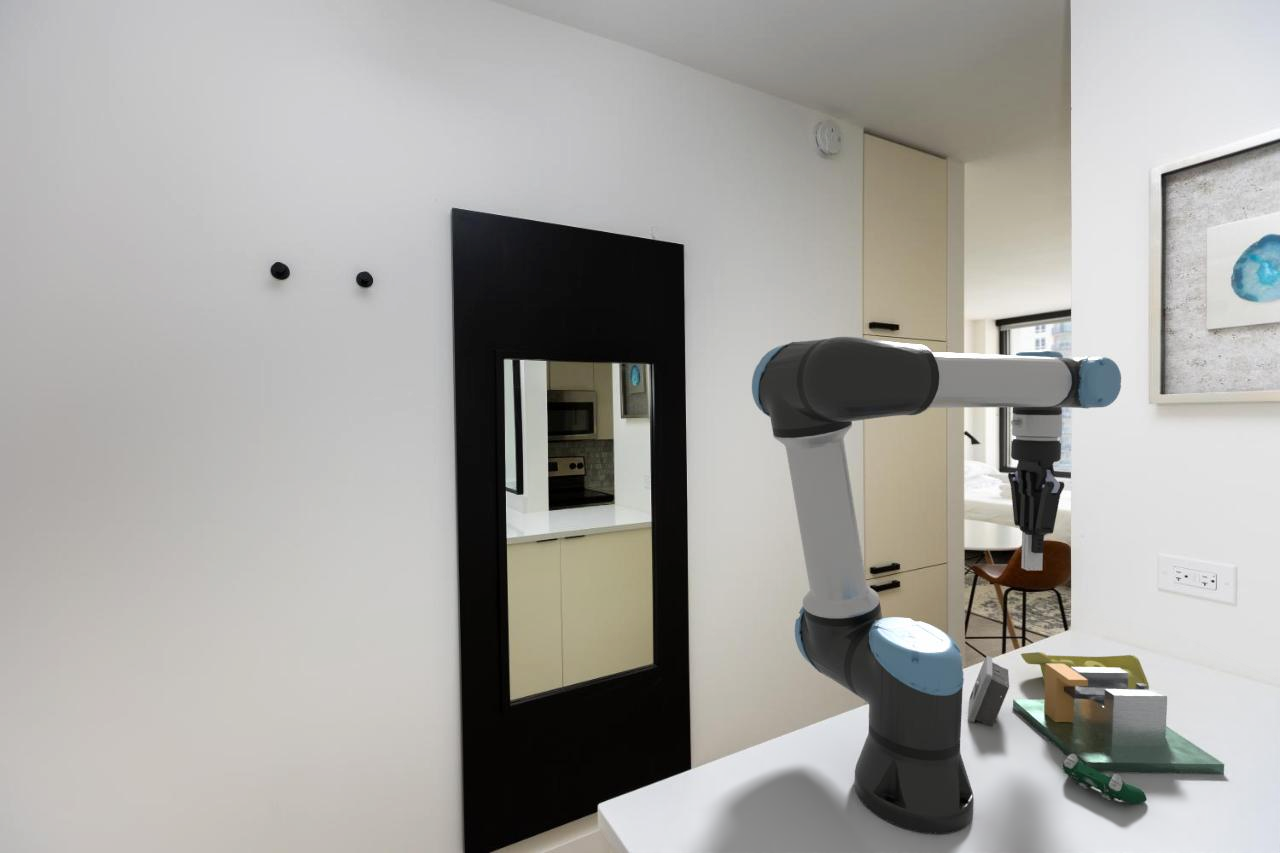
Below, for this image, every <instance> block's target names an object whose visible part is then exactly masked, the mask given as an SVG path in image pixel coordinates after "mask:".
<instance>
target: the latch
mask: <svg viewBox="0 0 1280 853" xmlns="http://www.w3.org/2000/svg"><path fill="white" fill-rule="evenodd" d="M1075 686H1088V680H1087V679H1086V678H1084V677H1083V676H1081V675H1080V674H1078V673H1077V672H1075V671H1074V670H1072V669H1071V668H1069V667H1068V666H1066V665H1065V664H1046V671H1045V684H1044V699H1043V700H1044V713H1045V714H1046V715H1047V716H1049V717H1050V718H1051V719H1052V720H1053V721H1055V722H1074V698H1073V697H1071V696H1070V695H1069V694H1067V693H1066V692H1064V687H1075Z"/></svg>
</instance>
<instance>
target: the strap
mask: <svg viewBox="0 0 1280 853" xmlns="http://www.w3.org/2000/svg"><path fill="white" fill-rule="evenodd" d="M1105 689H1130V688H1097V687H1064V692H1066V693H1067V694H1069V695H1070V696H1071V697H1073V698H1074V699H1102V700H1104V697H1105ZM1130 690H1148V689H1146V688H1143V689H1130Z"/></svg>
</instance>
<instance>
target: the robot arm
mask: <svg viewBox="0 0 1280 853" xmlns="http://www.w3.org/2000/svg"><path fill="white" fill-rule="evenodd" d="M1121 388H1122V374H1121V371H1120V368H1119V366H1118V364H1117V363H1116V361H1114V360H1112V359H1111V358H1109V357H1106V356H1104V357H1103V356H1096V357H1095V356H1088V355H1086V356H1085V357H1064V355H1063V354H1062V353H1061V352H1059V351H1056V350H1036V351H1035V350H1031V351H1030V350H1029V351H1018V352H1016V354H1014V355H1008V354H1007V355H1006V354H981V353H963V352H961V353H959V352H957V353H956V352H933V351H932V350H931V349H930V348H928V347H927V346H925V345H923V344H919V343H907V342H896V341H889V340H888V341H887V340H881V339H873V338H872V339H870V338H864V337H858V336H857V337H855V336H836V337H831V338H830V337H829V338H824V339H814V340H804V341H791V342H789V343H786V344H783V345H778V346H776V347H774V348H773V349H771V350H769V351H767V352H766V353H765V354H764V355H763V356H762V357H761V359H760V361H758V364H757V365H756V367H755V369H754V371H753V374H752V380H751V395H752V398H753V401H754V403H755V405H756V406H757V408H758V409H759V410H760V411H761V412H762V413H763V414H764V415H765V416H768V417H769V418H770V423H771V428H772V434H773V435H772V436H773V438H774V439H775V440H776V441H778V442H780V443H781V444H783V445H784V447H785V450H786V456H787V462H788V463H787V464H788V468H789V474H790V480H791V486H792V492H793V497H794V498H793V499H794V503H795V511H796V515H797V521H798V527H799V533H800V538H801V543H802V551H803V557H804V563H805V567H806V573H807V579H808V580H807V582H808V586H809V591H808V592H807V593H806V594H805V595H804V597H803V598H802V606H801V608H800V610H799V612H798V613H799V614H800V615H799V617H798V618H796V619H795V624H794V637H795V638H794V639H795V643H796V646H797V649H798V650H799V653H800V654H801V655H802V657H803V658H804V659H805V660H806V661H807V662H808V663H809V664H811V666H812V667H813V668H814V669H815V670H817V671H818V672H819V673H820V674H822V675H824V676H825V677H828V678H829V679H831V680H833V681H834V682H836V683H838V684H839V685H840V686H842V687H844V688H845V689H846V690H848V691H850V692H851V693H853V694H855V695H856V696H857V697H859V698H860V699H862V700H864V701H865V702H866V703H867V704H868V734H867V737H866V738H865V741H864V744H863V746H862V749H861V752H860V754H859V757H858V759H857V762H856V765H855V769H854V791H855V793H856V796H857V797H858V799H859V800H860V802H861V803H862V804H863V805H864V806H865V807H866V808H867V809H869V811H871V812H872V813H874V815H876V816H877V817H879V818H881V819H883V820H885V821H886V822H889V823H891V824H892V825H894V826H898V827H900V828H903V829H906V830H909V831H914V832H918V833H924V834H933V835H935V834H937V835H938V834H941V835H942V834H949V833H955V832H958V831H960V830H962V829H964V828H966V827H967V826H968V825H969V824H970V823H971V821H972V820H973V816H974V804H975V803H974V802H975V801H974V800H975V798H974V792H973V790H972V789H973V788H972V786H971V783H970V779H969V776H968V774H967V770H966V767H965V764H964V760H963V758H962V754H961V736H962V735H961V733H962V713H963V711H962V710H963V687H964V686H963V685H964V682H965V678H964V670H963V660H962V657H963V656H962V652H961V649H960V647H959V646H958V644H957V642H956V641H955V640H954V638H953V637H951V636H950V635H949V634H947V633H946V632H945V631H943V630H942V629H940V628H938V627H937V626H935V625H932V624H930V623H927V622H925V621H921V620H919V621H916V620H913V619H912V618H909V617H902V616H889V617H884V618H883V614H882V613H883V612H882V606H881V602H880V596H879V594H878V592H877V591H876V590H874V589H873V588H871V586H868V585H867V584H868V583H867V579H866V578H867V576H866V572H865V571H866V570H865V565H864V560H863V552H862V547H861V541H860V535H859V534H860V533H859V529H858V521H857V516H856V509H855V502H854V497H853V491H852V484H851V479H850V472H849V470H850V469H849V465H848V460H847V453H846V451H847V450H846V446H845V440H844V438H845V435H847V433H848V432H849V430H850V429H851V428H852V427H853V422H856V421H864V420H870V419H879V418H888V417H898V416H917V415H920V414H922V413H925V412H926V411H927V410H929V409H930V408H933V409H934V408H938V409H939V408H943V409H944V408H950V409H951V408H1012V419H1011V421H1010V423H1011V426H1012V427H1011V429H1012V430H1011V435H1012V436H1013V437H1015V438H1013V439H1012V440H1011V446H1010V458H1011V459H1012V460H1014V461H1017V462H1018V463H1017V465H1016V471H1015V472H1008V474H1007V478H1008V482H1009V485H1010V492H1011V502H1012V512H1013V513H1012V514H1013V522H1014V525H1015V527H1019V530H1020V532H1021V533H1022V534H1021V535H1022V536H1021V569H1023V570H1026V571H1043V562H1044V561H1043V559H1044V558H1043V557H1044V556H1043V555H1044V545H1045V544H1044V543H1045V536H1046V535H1048V534H1050V535H1051V534H1053V533H1054V529H1055V524H1056V518H1057V514H1058V510H1059V504H1060V498H1061V494H1062V493H1063V490H1064V488H1065V483H1064V481H1058V480H1057V479H1056V478H1055V475H1056V474H1055V473H1056V472H1055V469H1054V463H1057V462H1059V461H1061V458H1062V442H1060V440H1058V438H1061V437H1062V436H1063V408H1078V409H1079V408H1080V409H1090V408H1094V409H1095V408H1106V407H1109V406H1110V405H1111V404H1113V403H1114V402H1115V400H1117V398H1118V396H1119V394H1120V392H1121Z"/></svg>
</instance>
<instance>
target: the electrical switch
mask: <svg viewBox="0 0 1280 853" xmlns="http://www.w3.org/2000/svg"><path fill="white" fill-rule="evenodd" d="M1009 688H1010V679H1009V668H1008V669H1007V668H1006V667H1003V666H1000V665H999V664H997V663H995V662H993V657H992V656H989V655H986V657H985V658H984V660H983V662H982V665H981V668H980V670H979V672H978V675H977V677H976V679H975V682H974V685H973V687H972V691H971V694H970V696H969V699H968V700H969V701H968V716H967V720H968V721H969V722H970V723H972V724H974V723H975V721H976V720H977V721H979V722H981V723H983V724H986V725H988V726H991V727H992V726H993V727H994V725H995V723H996V721H997V718H998V717H999V716H998V715H999V714H1000V711H1001V709H1002V706H1003V703H1004V701H1005V699H1006V696H1007V694H1008V691H1009Z"/></svg>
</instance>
